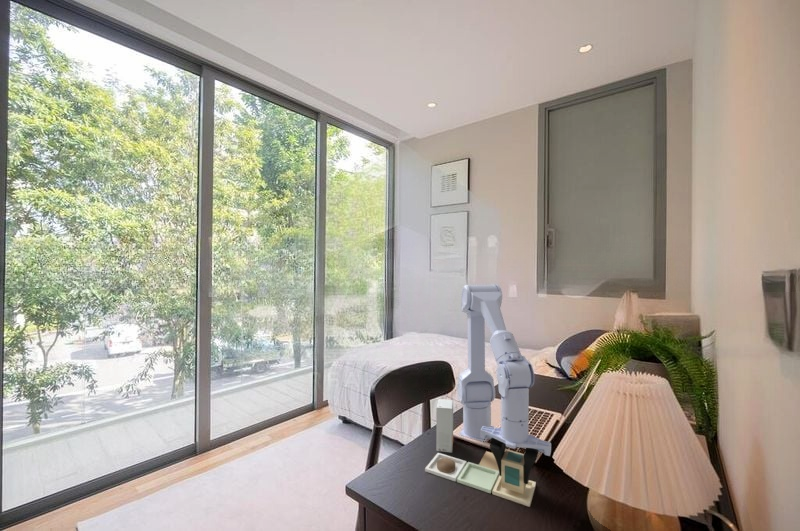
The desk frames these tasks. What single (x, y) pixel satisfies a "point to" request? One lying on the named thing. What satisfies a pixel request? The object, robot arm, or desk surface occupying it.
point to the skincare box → (444, 425)
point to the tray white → (451, 476)
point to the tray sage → (478, 477)
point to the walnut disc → (446, 465)
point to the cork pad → (489, 461)
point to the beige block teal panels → (513, 471)
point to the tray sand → (515, 493)
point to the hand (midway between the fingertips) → (514, 477)
